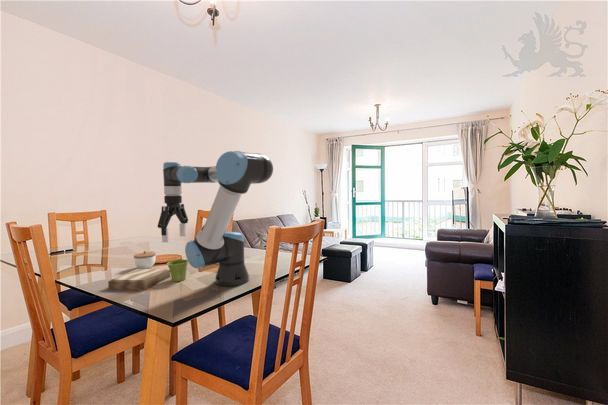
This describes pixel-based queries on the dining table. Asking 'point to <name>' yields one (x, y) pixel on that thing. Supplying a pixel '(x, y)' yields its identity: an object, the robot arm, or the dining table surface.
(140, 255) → the lidded jar
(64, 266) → the dining table surface
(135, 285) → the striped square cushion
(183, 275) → the plant pot
